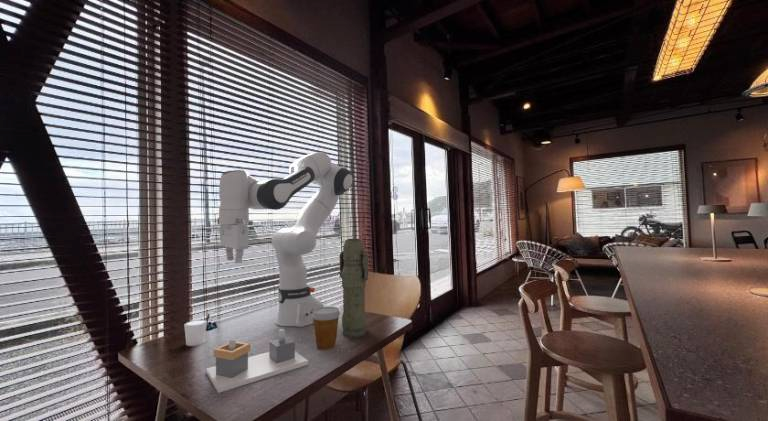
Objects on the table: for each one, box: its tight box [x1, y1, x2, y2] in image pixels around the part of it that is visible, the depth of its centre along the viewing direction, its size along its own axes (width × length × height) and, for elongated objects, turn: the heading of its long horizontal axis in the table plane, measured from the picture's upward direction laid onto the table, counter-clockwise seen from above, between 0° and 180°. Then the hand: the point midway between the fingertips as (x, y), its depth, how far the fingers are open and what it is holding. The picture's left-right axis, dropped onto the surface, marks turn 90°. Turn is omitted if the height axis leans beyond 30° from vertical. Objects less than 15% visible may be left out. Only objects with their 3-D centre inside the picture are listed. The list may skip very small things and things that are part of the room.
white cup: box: [183, 319, 208, 347], centre depth 115 cm, size 7×7×7 cm
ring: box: [213, 340, 251, 360], centre depth 90 cm, size 6×6×2 cm
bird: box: [205, 313, 218, 331], centre depth 131 cm, size 8×7×8 cm
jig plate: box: [205, 328, 309, 394], centre depth 94 cm, size 24×14×10 cm, turn 129°
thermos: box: [339, 238, 369, 339], centre depth 122 cm, size 9×12×35 cm
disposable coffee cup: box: [311, 306, 341, 351], centre depth 110 cm, size 10×10×12 cm
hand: (234, 261), depth 107 cm, fingers open, 8 cm apart
